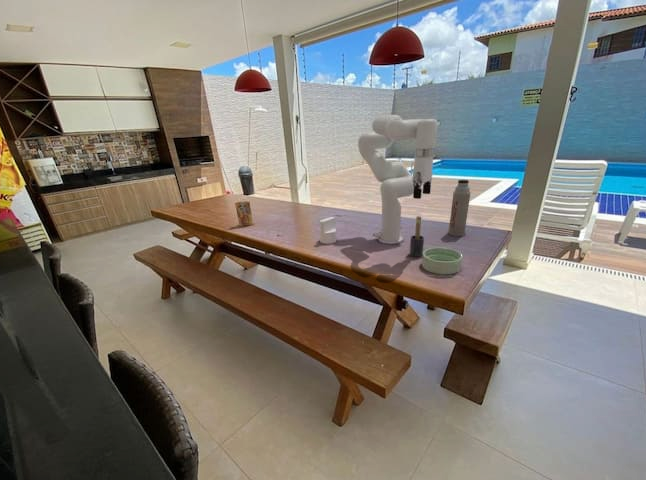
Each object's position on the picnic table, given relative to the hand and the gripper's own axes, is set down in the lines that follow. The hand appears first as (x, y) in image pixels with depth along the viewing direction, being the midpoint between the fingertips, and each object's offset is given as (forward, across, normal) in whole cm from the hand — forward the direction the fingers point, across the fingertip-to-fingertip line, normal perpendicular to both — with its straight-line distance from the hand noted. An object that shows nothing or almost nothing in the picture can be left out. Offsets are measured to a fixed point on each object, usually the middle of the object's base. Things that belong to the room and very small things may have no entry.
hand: (421, 195), depth 130 cm
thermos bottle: (+28, -37, +6) cm, 47 cm away
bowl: (+28, +7, +13) cm, 31 cm away
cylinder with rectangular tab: (+27, +6, -48) cm, 56 cm away
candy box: (+27, +9, -114) cm, 117 cm away
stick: (+27, +1, 0) cm, 27 cm away
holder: (+28, +1, 0) cm, 28 cm away
